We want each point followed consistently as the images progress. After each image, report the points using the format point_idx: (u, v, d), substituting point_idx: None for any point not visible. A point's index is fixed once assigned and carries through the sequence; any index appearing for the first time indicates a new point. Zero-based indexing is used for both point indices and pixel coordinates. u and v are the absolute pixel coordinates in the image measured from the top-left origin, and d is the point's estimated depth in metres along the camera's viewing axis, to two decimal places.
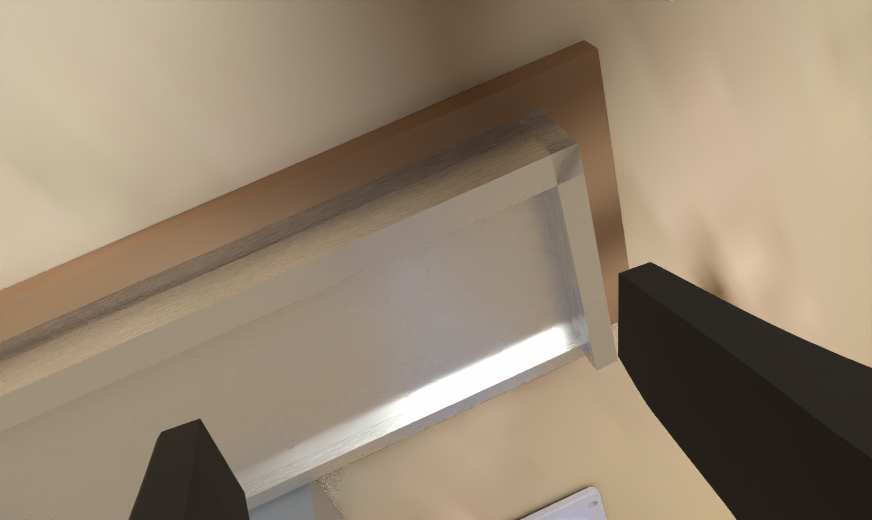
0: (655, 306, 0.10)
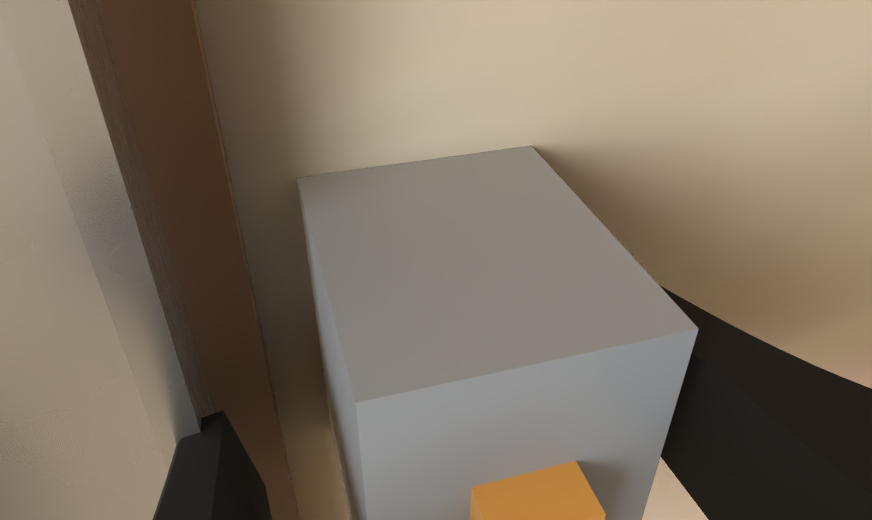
0: None
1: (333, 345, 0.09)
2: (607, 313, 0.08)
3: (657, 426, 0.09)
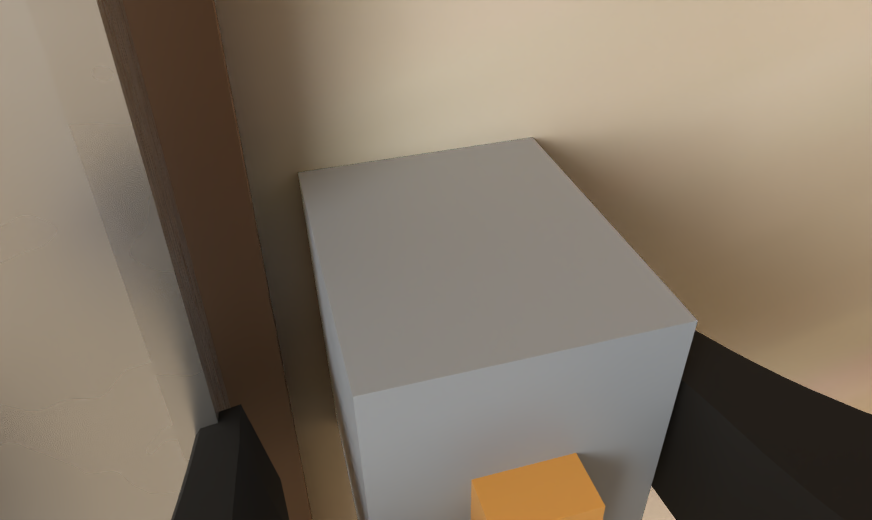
0: None
1: (333, 339, 0.09)
2: (605, 305, 0.08)
3: (658, 417, 0.09)
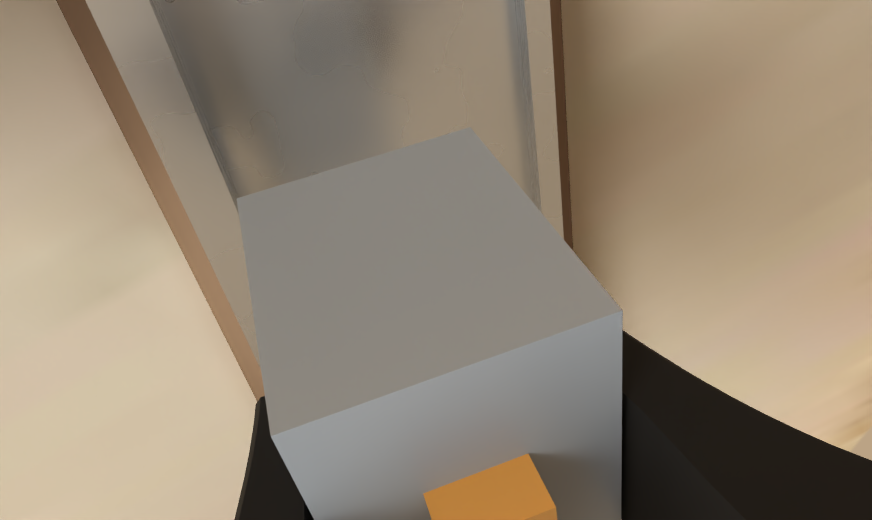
0: None
1: None
2: (529, 306, 0.08)
3: (608, 408, 0.08)
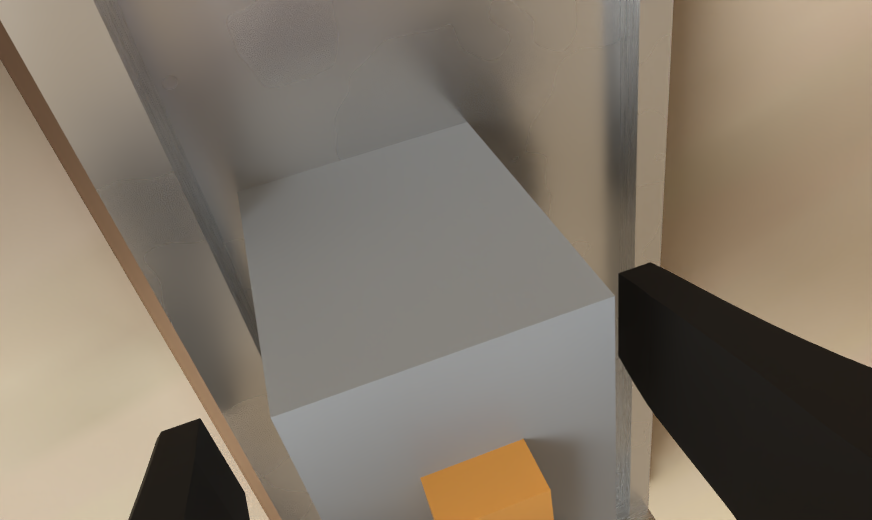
0: (655, 306, 0.10)
1: None
2: (524, 292, 0.08)
3: (602, 394, 0.09)
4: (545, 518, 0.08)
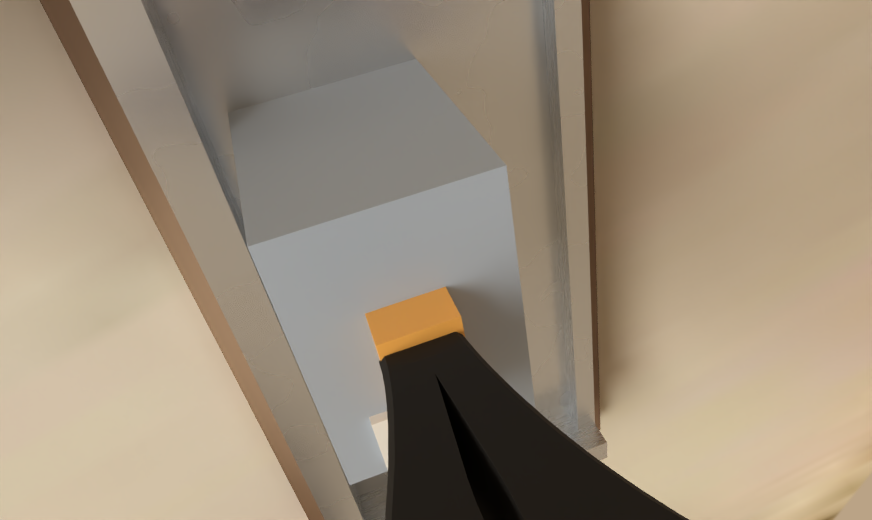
0: (438, 384, 0.10)
1: None
2: (440, 166, 0.11)
3: (506, 251, 0.11)
4: None
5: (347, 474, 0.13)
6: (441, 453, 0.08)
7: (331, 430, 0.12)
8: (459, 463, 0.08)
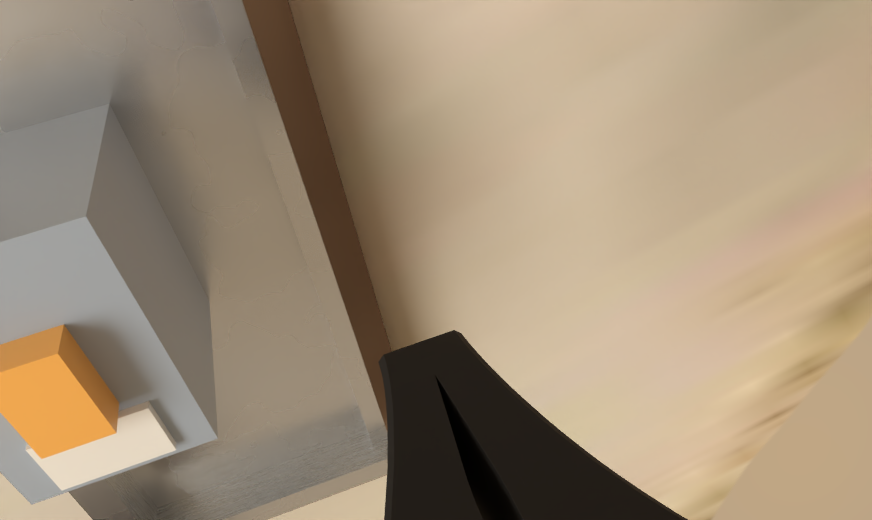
0: (438, 384, 0.10)
1: None
2: (36, 216, 0.11)
3: (118, 292, 0.12)
4: (66, 377, 0.12)
5: (24, 494, 0.14)
6: (440, 453, 0.08)
7: None
8: (458, 463, 0.08)
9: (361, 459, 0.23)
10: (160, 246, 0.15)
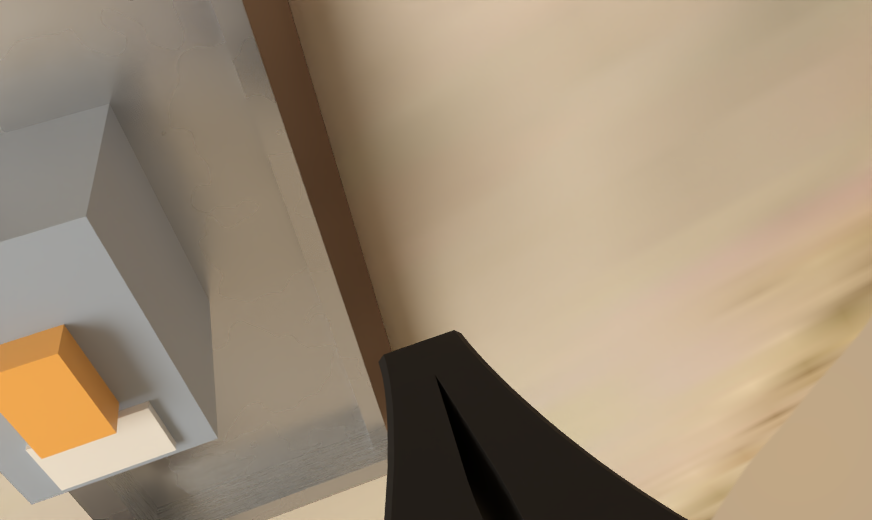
0: (438, 384, 0.10)
1: None
2: (36, 215, 0.11)
3: (118, 292, 0.12)
4: (66, 377, 0.12)
5: (24, 494, 0.14)
6: (440, 453, 0.08)
7: None
8: (458, 463, 0.08)
9: (361, 459, 0.23)
10: (160, 246, 0.15)
